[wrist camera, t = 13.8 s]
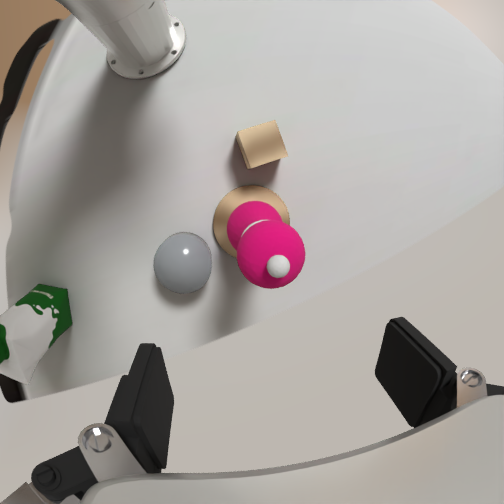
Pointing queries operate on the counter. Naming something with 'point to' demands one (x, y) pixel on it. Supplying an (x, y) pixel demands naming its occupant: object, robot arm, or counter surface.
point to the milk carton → (32, 330)
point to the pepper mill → (265, 245)
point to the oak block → (261, 144)
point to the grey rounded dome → (183, 262)
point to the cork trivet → (238, 198)
